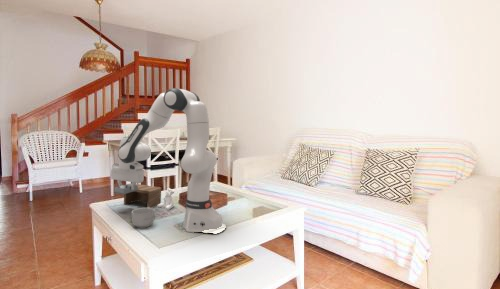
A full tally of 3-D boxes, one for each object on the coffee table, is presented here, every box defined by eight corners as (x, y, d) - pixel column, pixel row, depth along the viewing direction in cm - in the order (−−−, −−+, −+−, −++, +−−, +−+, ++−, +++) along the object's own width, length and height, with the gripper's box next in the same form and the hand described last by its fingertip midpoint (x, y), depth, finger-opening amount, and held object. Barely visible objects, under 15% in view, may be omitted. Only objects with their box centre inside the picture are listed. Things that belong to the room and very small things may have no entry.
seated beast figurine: (156, 207, 174) (157, 188, 173) (167, 204, 181) (168, 186, 180) (166, 210, 169) (167, 190, 168) (177, 208, 176) (178, 188, 175)
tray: (123, 194, 157) (123, 187, 157) (114, 192, 159) (114, 186, 159) (137, 190, 169) (137, 183, 168) (129, 188, 170) (129, 182, 170)
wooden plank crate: (160, 203, 182) (161, 187, 181) (148, 208, 171) (149, 191, 170) (136, 200, 187) (137, 184, 186) (123, 204, 176) (124, 187, 175)
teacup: (146, 231, 137) (147, 214, 136) (126, 227, 139) (126, 211, 138) (161, 221, 150) (161, 206, 150) (142, 219, 152) (143, 204, 152)
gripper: (108, 163, 163) (107, 187, 163) (138, 167, 157) (137, 192, 158) (116, 162, 169) (115, 185, 169) (146, 166, 163) (144, 189, 164)
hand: (126, 188), depth 164 cm, fingers closed on tray, 6 cm apart
